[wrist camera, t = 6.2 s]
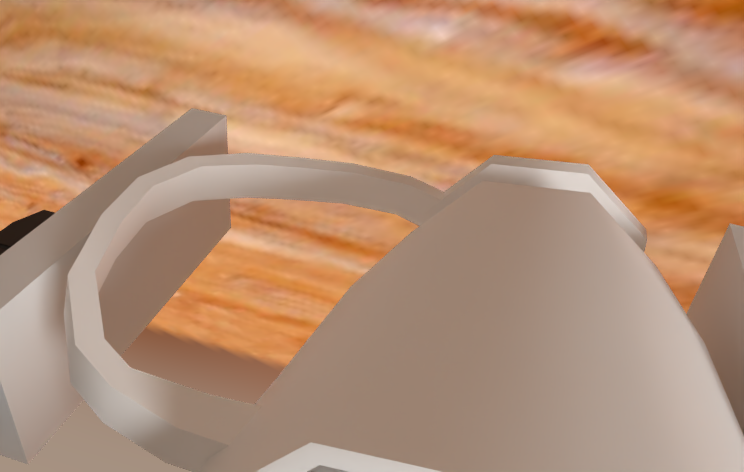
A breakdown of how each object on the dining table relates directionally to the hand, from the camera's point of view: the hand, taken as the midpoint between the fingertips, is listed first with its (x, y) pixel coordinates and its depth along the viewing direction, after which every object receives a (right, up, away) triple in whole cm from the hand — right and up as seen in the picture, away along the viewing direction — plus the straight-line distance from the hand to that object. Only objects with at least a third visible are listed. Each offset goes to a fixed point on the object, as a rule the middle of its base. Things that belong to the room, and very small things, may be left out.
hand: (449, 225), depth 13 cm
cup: (0, 0, 0) cm, 1 cm away
